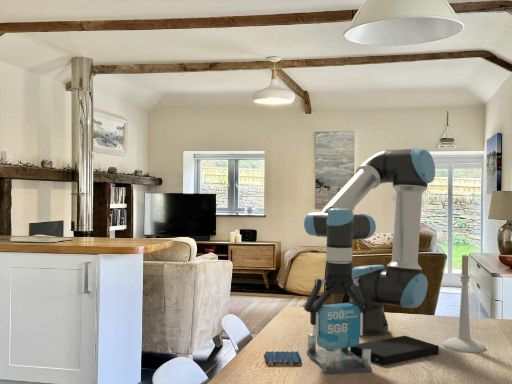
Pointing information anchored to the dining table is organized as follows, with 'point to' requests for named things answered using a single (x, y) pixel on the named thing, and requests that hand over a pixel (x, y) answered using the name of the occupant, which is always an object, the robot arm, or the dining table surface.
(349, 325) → the data package
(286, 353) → the woven mat
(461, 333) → the candlestick
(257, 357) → the dining table surface
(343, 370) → the chassis
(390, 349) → the external hard drive
